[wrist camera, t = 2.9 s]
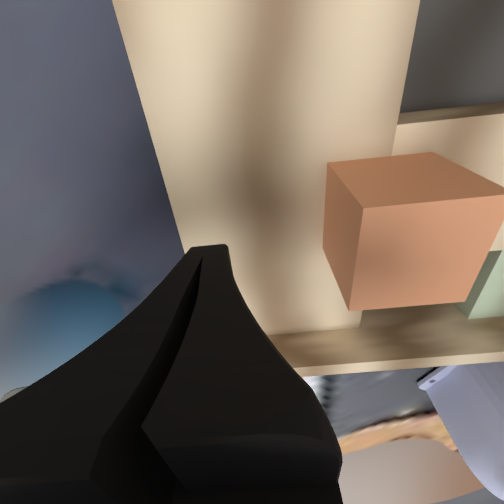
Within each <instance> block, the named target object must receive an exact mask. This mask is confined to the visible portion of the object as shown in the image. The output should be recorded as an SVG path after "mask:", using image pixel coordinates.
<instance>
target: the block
mask: <svg viewBox="0 0 504 504" xmlns="http://www.w3.org/2000/svg"><path fill="white" fill-rule="evenodd" d="M503 221H504V187H502V186H500V185H498V184H496V183H494V182H492V181H490V180H488V179H486V178H484V177H482V176H480V175H478V174H476V173H474V172H472V171H470V170H468V169H466V168H464V167H462V166H460V165H458V164H456V163H454V162H452V161H450V160H448V159H446V158H444V157H442V156H440V155H438V154H436V153H434V152H425V153H416V154H406V155H396V156H387V157H377V158H367V159H358V160H348V161H338V162H329V163H327V176H326V194H325V211H324V228H323V246H322V248H323V251H324V253H325V255H326V258H327V260H328V263H329V265H330V268H331V270H332V272H333V275H334V277H335V280H336V282H337V284H338V287H339V289H340V292H341V294H342V297H343V299H344V301H345V304H346V306H347V309H348V311H360V310H371V309H383V308H395V307H407V306H419V305H431V304H443V303H455V302H465V301H466V299H467V297H468V295H469V292H470V290H471V288H472V286H473V284H474V282H475V280H476V278H477V276H478V273H479V271H480V269H481V267H482V265H483V263H484V261H485V259H486V257H487V254H488V252H489V250H490V248H491V246H492V244H493V242H494V240H495V238H496V236H497V233H498V231H499V229H500V227H501V225H502V223H503Z"/></svg>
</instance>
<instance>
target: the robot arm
mask: <svg viewBox="0 0 504 504" xmlns="http://www.w3.org/2000/svg"><path fill="white" fill-rule="evenodd" d="M417 385H418V387H419V388H420V389H423V390H426V392H427V394H428V396H429V398H430V399H431V401H432V403H433V405H434V407H435V409H436V410H437V412H438V414H439V416H440V418H441V420H442V421H443V423H444V425H445V427H446V429H447V431H448V432H449V434H450V436H451V438H452V440H453V441H454V443H455V445H456V447H457V449H458V451H459V452H460V454H461V456H462V457H463V459H464V461H465V462H466V464H467V465H468V467H469V468H470V469H471V471H472V472H473V473H474V475H475V476H476V477H477V478H478V479H479V480H480V482H481V483H482V484H483V485H484V486H485V487H486V488H487V489H488V490H489V491H490V492H491V493H493V494H494V495H495V496H497V497H498V498H500V499H501V500H503V501H504V361H503V362H489V363H476V364H463V365H450V366H440V367H439V368H437V369H436V370H435V371H433V372H432V373H430V374H429V375H428V376H426V377H425V378H423V379H422V380H421V381H419V382H418V384H417ZM341 466H342V453H341V449H340V446H339V443H338V440H337V438H336V435H335V433H334V430H333V428H332V426H331V424H330V422H329V420H328V418H327V416H326V414H325V412H324V410H323V408H322V406H321V404H320V403H319V401H318V399H317V397H316V395H315V393H314V391H313V390H312V388H311V387H310V386H309V385H308V384H307V383H306V382H305V381H304V380H303V379H302V378H301V377H300V375H299V374H298V373H297V372H296V371H295V370H294V369H293V368H292V366H291V365H290V364H289V363H288V362H287V361H286V359H285V358H284V357H283V356H282V355H281V353H280V352H279V351H278V350H277V349H276V347H275V346H274V345H273V343H272V342H271V340H270V339H269V338H268V336H267V335H266V334H265V332H264V331H263V330H262V328H261V327H260V325H259V324H258V322H257V321H256V319H255V318H254V316H253V314H252V313H251V311H250V309H249V308H248V306H247V304H246V302H245V300H244V298H243V297H242V295H241V292H240V290H239V288H238V286H237V284H236V281H235V279H234V276H233V271H232V265H231V260H230V254H229V248H228V246H227V245H226V244H217V245H206V246H196V247H191V248H190V249H189V250H188V251H187V253H186V254H185V255H184V256H183V257H182V258H181V260H180V261H179V262H178V263H177V265H176V266H175V267H174V268H173V269H172V271H171V272H170V273H169V274H168V275H167V276H166V277H165V279H164V280H163V281H162V282H161V283H160V284H159V285H158V286H157V287H156V288H155V289H154V290H153V291H152V292H151V294H150V295H149V296H148V297H147V298H146V299H145V300H144V301H143V302H142V303H141V304H140V305H139V306H138V307H136V308H135V309H134V310H133V311H132V312H131V313H130V314H129V315H128V316H126V317H125V318H124V319H123V320H122V321H121V322H120V323H119V324H117V325H116V326H115V327H114V328H112V329H111V330H110V331H108V332H107V333H106V334H104V335H103V336H102V337H100V338H99V339H98V340H97V341H95V342H94V343H93V344H91V345H90V346H89V347H87V348H86V349H85V350H83V351H82V352H81V353H79V354H78V355H76V356H75V357H74V358H72V359H70V360H69V361H67V362H66V363H64V364H63V365H61V366H60V367H58V368H57V369H55V370H54V371H52V372H51V373H49V374H48V375H46V376H45V377H43V378H41V379H40V380H38V381H37V382H35V383H33V384H32V385H30V386H28V387H27V388H25V389H23V390H21V391H20V392H18V393H16V394H15V395H13V396H11V397H9V398H8V399H6V400H4V401H3V402H1V403H0V504H343V502H342V497H341V492H340V488H339V484H338V479H339V475H340V470H341Z"/></svg>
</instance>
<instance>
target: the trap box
mask: <svg viewBox="0 0 504 504" xmlns="http://www.w3.org/2000/svg"><path fill="white" fill-rule="evenodd" d="M112 2H113V5H114V9H115V12H116V16H117V19H118V23H119V26H120V30H121V33H122V37H123V40H124V44H125V47H126V51H127V54H128V58H129V61H130V65H131V68H132V71H133V75H134V78H135V82H136V85H137V89H138V92H139V96H140V99H141V103H142V106H143V110H144V113H145V117H146V120H147V124H148V127H149V131H150V134H151V137H152V141H153V144H154V148H155V151H156V155H157V158H158V162H159V165H160V169H161V172H162V176H163V179H164V183H165V186H166V190H167V193H168V197H169V200H170V203H171V207H172V210H173V214H174V217H175V221H176V224H177V228H178V231H179V235H180V238H181V242H182V245H183V249H184V252H185V254H186V253H187V251H188V250H189V249H190V248H191V247H196V246H206V245H217V244H226V245H227V246H228V248H229V254H230V260H231V265H232V271H233V276H234V279H235V281H236V284H237V286H238V288H239V290H240V292H241V295H242V297H243V298H244V300H245V302H246V304H247V306H248V308H249V309H250V311H251V313H252V314H253V316H254V318H255V319H256V321H257V322H258V324H259V325H260V327H261V328H262V330H263V331H264V332H265V334H266V335H267V336H268V338H269V339H270V340H271V342H272V343H273V345H274V346H275V347H276V349H277V350H278V351H279V352H280V353H281V355H282V356H283V357H284V358H285V359H286V361H287V362H288V363H289V364H290V365H291V366H292V368H293V369H294V370H295V371H296V372H297V373H298V374H299V375H300V377H305V376H318V375H331V374H345V373H358V372H371V371H384V370H397V369H410V368H424V367H437V366H450V365H463V364H476V363H489V362H503V361H504V221H503V223H502V225H501V227H500V229H499V231H498V233H497V236H496V238H495V240H494V242H493V244H492V246H491V248H490V250H489V252H488V254H487V257H486V259H485V261H484V263H483V265H482V267H481V269H480V271H479V273H478V276H477V278H476V280H475V282H474V284H473V286H472V288H471V290H470V292H469V295H468V297H467V299H466V301H465V302H455V303H443V304H431V305H419V306H407V307H395V308H383V309H371V310H360V311H348V309H347V306H346V304H345V301H344V299H343V297H342V294H341V292H340V289H339V287H338V284H337V282H336V280H335V277H334V275H333V272H332V270H331V268H330V265H329V263H328V260H327V258H326V255H325V253H324V251H323V248H322V246H323V228H324V211H325V194H326V176H327V163H329V162H338V161H348V160H358V159H367V158H377V157H387V156H396V155H406V154H416V153H425V152H434V153H436V154H438V155H440V156H442V157H444V158H446V159H448V160H450V161H452V162H454V163H456V164H458V165H460V166H462V167H464V168H466V169H468V170H470V171H472V172H474V173H476V174H478V175H480V176H482V177H484V178H486V179H488V180H490V181H492V182H494V183H496V184H498V185H500V186H502V187H504V0H112Z"/></svg>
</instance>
